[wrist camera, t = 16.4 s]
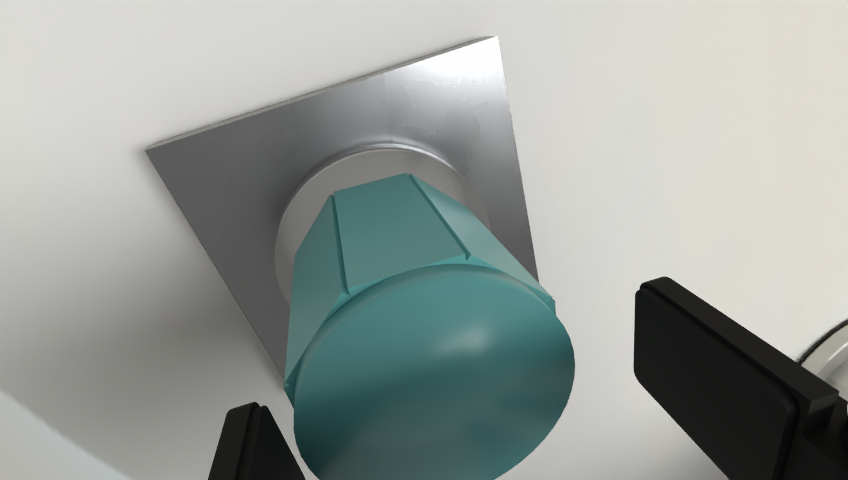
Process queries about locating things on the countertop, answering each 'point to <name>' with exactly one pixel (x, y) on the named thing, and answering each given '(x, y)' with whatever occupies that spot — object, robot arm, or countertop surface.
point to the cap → (418, 341)
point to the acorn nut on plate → (345, 168)
